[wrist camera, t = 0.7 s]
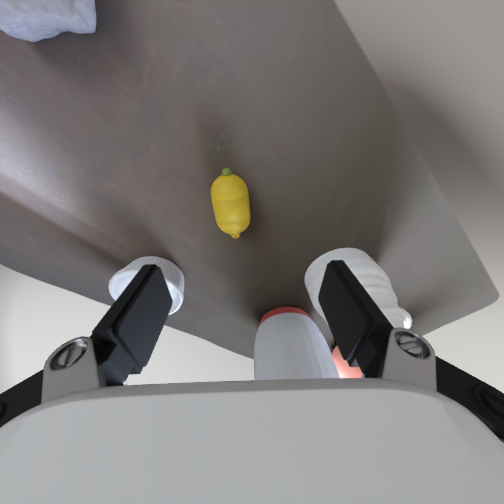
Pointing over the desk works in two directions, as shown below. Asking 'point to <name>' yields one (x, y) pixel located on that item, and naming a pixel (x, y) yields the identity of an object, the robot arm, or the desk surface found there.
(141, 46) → the desk surface
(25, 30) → the stone block
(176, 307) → the ramekin
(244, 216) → the lemon
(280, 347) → the citrus juicer
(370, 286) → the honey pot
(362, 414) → the robot arm
